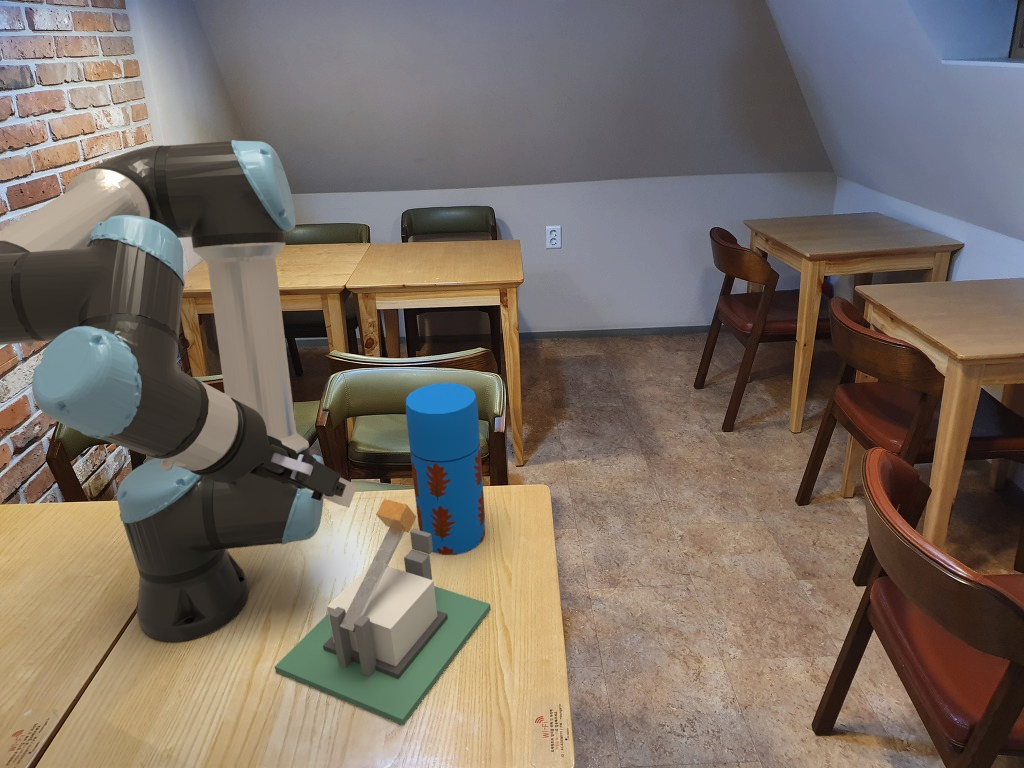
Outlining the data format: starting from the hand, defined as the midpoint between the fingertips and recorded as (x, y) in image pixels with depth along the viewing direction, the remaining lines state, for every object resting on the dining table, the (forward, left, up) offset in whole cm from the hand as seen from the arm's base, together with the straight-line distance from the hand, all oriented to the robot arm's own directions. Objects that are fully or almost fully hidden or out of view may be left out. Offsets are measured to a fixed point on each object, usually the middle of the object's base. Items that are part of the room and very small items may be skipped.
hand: (348, 494), depth 90 cm
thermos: (-5, +28, -26) cm, 39 cm away
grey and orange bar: (-1, +4, -14) cm, 15 cm away
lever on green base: (-1, +4, -26) cm, 27 cm away
